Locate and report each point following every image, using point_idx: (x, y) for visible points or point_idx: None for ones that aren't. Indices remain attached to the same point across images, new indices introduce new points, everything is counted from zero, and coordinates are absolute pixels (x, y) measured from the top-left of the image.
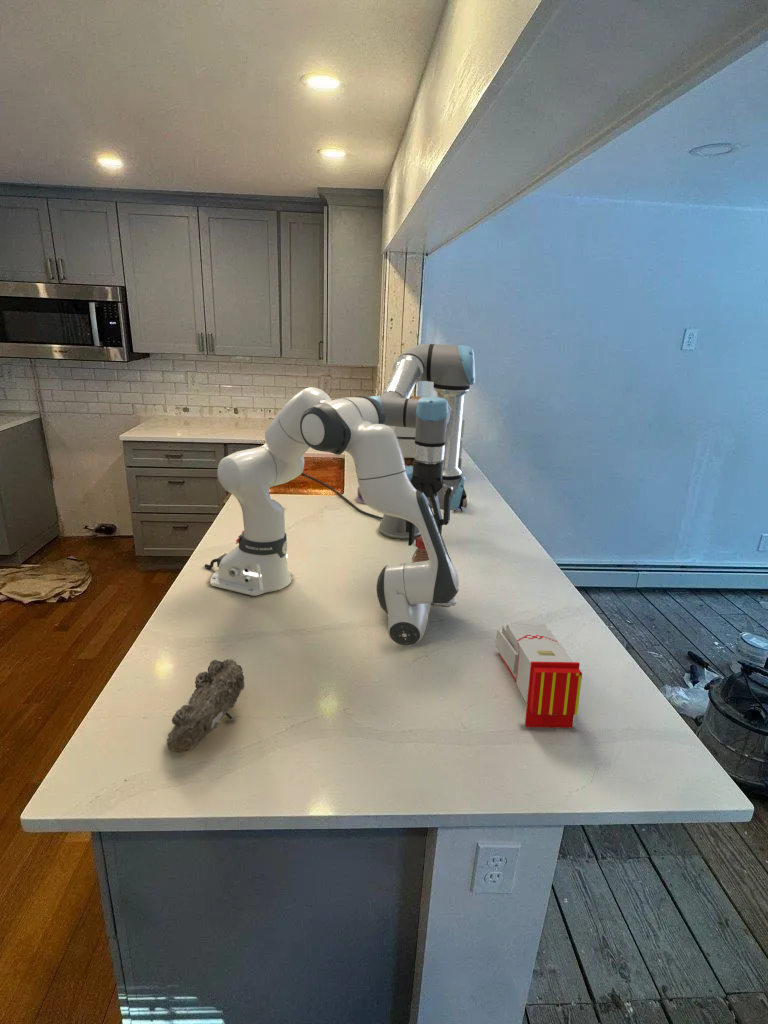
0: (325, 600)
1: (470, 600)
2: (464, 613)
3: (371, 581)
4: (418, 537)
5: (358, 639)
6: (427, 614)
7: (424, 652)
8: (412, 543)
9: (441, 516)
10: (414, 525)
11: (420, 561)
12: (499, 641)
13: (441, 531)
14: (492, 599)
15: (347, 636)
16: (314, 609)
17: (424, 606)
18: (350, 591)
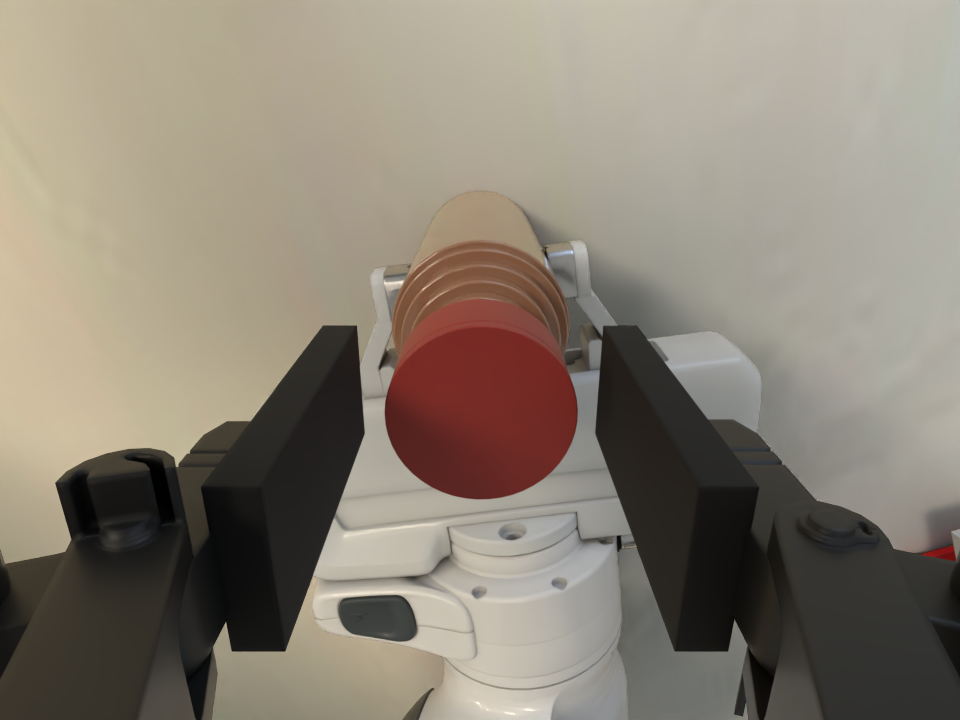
0: (41, 430)
1: (782, 122)
2: (749, 291)
3: (126, 118)
4: (411, 390)
5: (343, 639)
6: (626, 698)
7: None
8: (359, 380)
9: (924, 649)
10: (296, 449)
11: None
12: None
13: (774, 460)
14: (926, 47)
15: (295, 636)
16: (53, 517)
17: (611, 707)
18: (91, 295)
